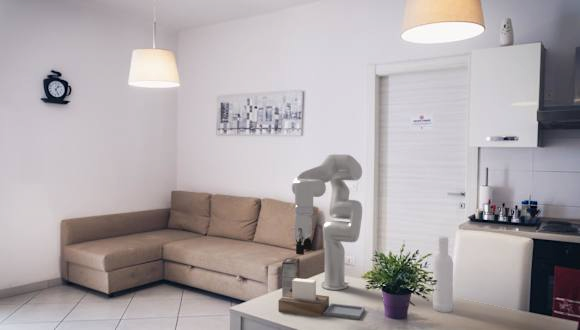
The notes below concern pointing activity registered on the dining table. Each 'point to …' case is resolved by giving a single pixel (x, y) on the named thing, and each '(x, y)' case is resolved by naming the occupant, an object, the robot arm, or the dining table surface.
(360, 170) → the robot arm
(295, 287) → the white block
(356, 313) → the grey tray
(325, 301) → the brown wooden flat box
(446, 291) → the bottle
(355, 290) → the dining table surface
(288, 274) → the tall grey box
